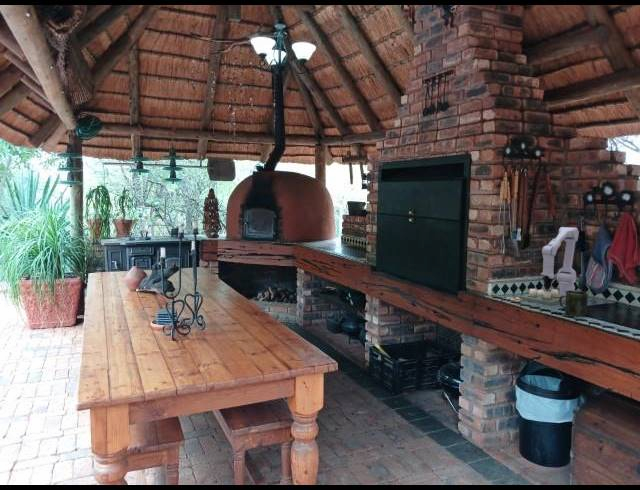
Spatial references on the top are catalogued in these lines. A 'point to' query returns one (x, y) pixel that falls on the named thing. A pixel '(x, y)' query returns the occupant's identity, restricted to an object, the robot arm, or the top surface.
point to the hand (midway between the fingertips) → (547, 288)
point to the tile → (515, 298)
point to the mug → (575, 302)
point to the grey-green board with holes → (540, 299)
